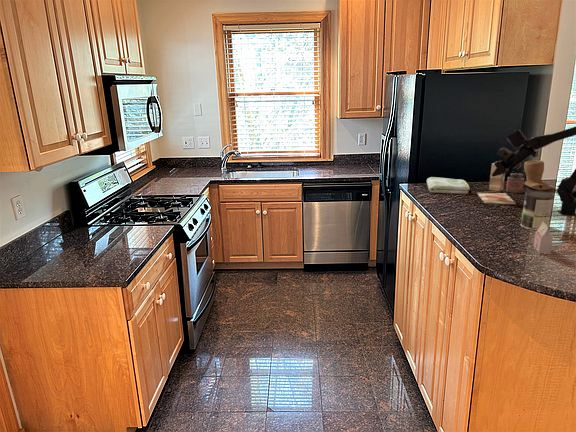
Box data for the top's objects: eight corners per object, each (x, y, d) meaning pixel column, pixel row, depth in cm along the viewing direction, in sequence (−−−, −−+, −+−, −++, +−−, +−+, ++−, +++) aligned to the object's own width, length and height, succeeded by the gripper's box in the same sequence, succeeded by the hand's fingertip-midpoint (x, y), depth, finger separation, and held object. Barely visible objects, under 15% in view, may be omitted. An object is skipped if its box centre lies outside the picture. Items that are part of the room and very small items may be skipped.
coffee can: (517, 227, 180) (522, 194, 175) (523, 221, 187) (528, 189, 183) (545, 232, 174) (551, 198, 169) (550, 225, 181) (556, 193, 177)
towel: (470, 194, 231) (471, 185, 229) (428, 193, 235) (429, 184, 233) (464, 186, 247) (465, 177, 246) (425, 185, 252) (426, 176, 250)
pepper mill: (499, 191, 215) (502, 163, 210) (488, 189, 218) (492, 161, 214) (503, 189, 218) (506, 161, 214) (492, 187, 221) (496, 160, 217)
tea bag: (544, 247, 159) (548, 221, 156) (550, 254, 153) (554, 228, 150) (533, 247, 160) (537, 221, 157) (538, 254, 154) (543, 227, 151)
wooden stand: (518, 184, 248) (522, 158, 243) (540, 184, 246) (545, 158, 241) (526, 190, 234) (531, 163, 229) (550, 191, 232) (555, 163, 227)
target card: (515, 204, 211) (516, 202, 211) (485, 203, 213) (485, 201, 213) (505, 194, 228) (505, 193, 227) (477, 193, 230) (477, 192, 230)
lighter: (505, 191, 233) (508, 173, 230) (505, 190, 236) (508, 172, 233) (522, 193, 230) (525, 174, 227) (522, 191, 233) (525, 173, 230)
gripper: (518, 140, 214) (493, 159, 225) (501, 144, 202) (475, 164, 214) (533, 158, 210) (507, 176, 222) (516, 163, 199) (489, 183, 210)
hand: (494, 175), depth 217 cm, fingers closed on pepper mill, 5 cm apart
